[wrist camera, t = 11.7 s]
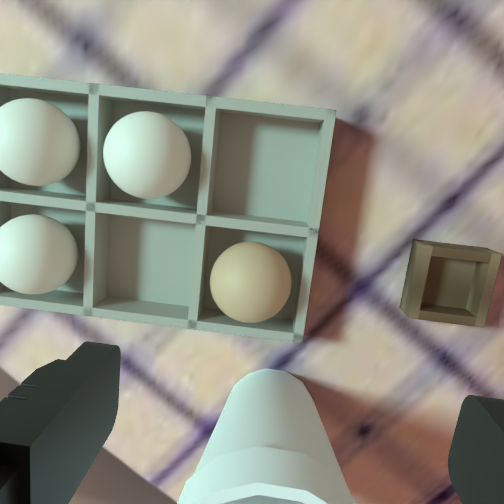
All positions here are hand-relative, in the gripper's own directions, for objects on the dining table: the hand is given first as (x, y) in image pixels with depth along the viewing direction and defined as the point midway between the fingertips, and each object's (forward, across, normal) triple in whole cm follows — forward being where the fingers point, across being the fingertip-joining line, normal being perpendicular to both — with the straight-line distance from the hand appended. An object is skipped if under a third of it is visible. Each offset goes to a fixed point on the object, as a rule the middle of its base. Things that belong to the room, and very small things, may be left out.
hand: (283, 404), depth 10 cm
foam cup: (+19, -1, +13) cm, 23 cm away
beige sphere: (+16, +2, +2) cm, 17 cm away
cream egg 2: (+16, +15, +2) cm, 22 cm away
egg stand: (+19, -11, +1) cm, 22 cm away
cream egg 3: (+16, +8, -4) cm, 19 cm away
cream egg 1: (+16, +15, -4) cm, 23 cm away
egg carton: (+19, +8, -1) cm, 21 cm away
